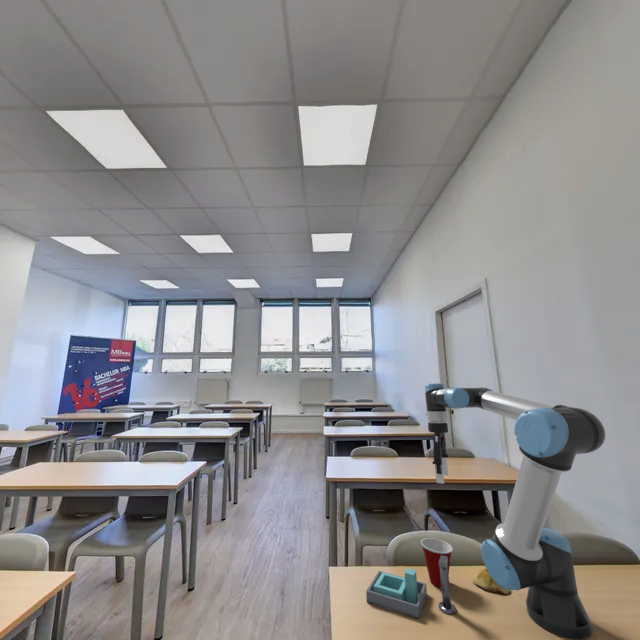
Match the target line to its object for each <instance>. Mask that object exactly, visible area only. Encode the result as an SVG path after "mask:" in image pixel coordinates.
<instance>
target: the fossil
mask: <svg viewBox="0 0 640 640" xmlns="http://www.w3.org/2000/svg"><path fill="white" fill-rule="evenodd" d="M471 581H472V583H473V584H475V585H476V586H478V587H480V588H482V589H484V590H486V591H488V592H493V593H494V592H495V593H501V594H504V595H510V592H511V590H510V591H509V590H506V589H503V588H502V587H500V586H499V585H498V584H497V583H496V582H495V581H494V580H493V578H492V577H491V576H490V574H489V572H488V571H487V569H486V568H483V569H481V570H480V571H479V572H477V573H476V574H473V576H472V579H471Z"/></svg>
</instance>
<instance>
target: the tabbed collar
mask: <svg viewBox="0 0 640 640" xmlns="http://www.w3.org/2000/svg"><path fill="white" fill-rule="evenodd" d="M384 572H385V571H382V573H381V575H380V576H379V578H378V580H377V581H376V583H375V585H374V592H376V593H380V594H383V595H386V596H389V597H393V598H396V599H399V600H403V601H406V602H409V603H413V604H417V601H418V591H417V581H418V578H417V570H415V569H412V568H406V569H405V571H404V576H400V577H399V575H397V576H395V575H396V574H393V575H391V574H392V573H389V574H388V572H385V573H384ZM403 577H404V578H403Z"/></svg>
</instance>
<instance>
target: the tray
mask: <svg viewBox="0 0 640 640" xmlns="http://www.w3.org/2000/svg"><path fill="white" fill-rule="evenodd" d="M382 572H384V573H386V572H385V571H383V570H382V571H381V570H378V572H377V573H376V575H375V576H374V578H373V580H372V581H371V583H370V585H369V586H368V587H367V589H366V590H365V591H366V592H365V593H366V603H369V604H372V605H374V606H377V607H381V608H384V609H388V610H390V611H393V612H397V613H399V614H403V615H405V616H409V617H412V618H414V619H418V620H420V617H421V614H422V611H423V608H424V605H425V601H426V599H427V594H428V591H427V583H426V582H422V581H419V580H417V591H418V601H417V604H413V603H409V602H406V601H403V600H399V599H396V598H393V597H389V596H386V595H383V594H380V593H376V592H374V585H375V583H376V581H377V580H378V578H379V576H380V575H381V573H382ZM387 573H388V572H387ZM388 574H391V575H395V576H399V575H396V574H392V573H388ZM399 577H401V576H399ZM402 577H403V578H405V576H402Z"/></svg>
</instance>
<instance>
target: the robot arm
mask: <svg viewBox="0 0 640 640" xmlns="http://www.w3.org/2000/svg"><path fill="white" fill-rule="evenodd" d="M424 388H425V389H424V395H425V396H424V397H425V406H426V413H425V416H427V421H428V423H427V429H428V430H427V431H428V432H429V433H434V436H433V435H432V440H433V461H432V465H434V470H435V481H436V482H435V483H437V484H445V476H449V468H448V458H449V454H448V452H447V447H446V439H445V434H446V433H448V432H449V426H448V425H449V424H448V422H447V421H448V416H447V415H448V414H447V413H448V412H447V408H450V409H451V408H452V409H465V408H466V409H467V408H477V409H478V408H479V409H482V410H485V411H488V412H492V413H494V414H498V415H500V416H504V417H506V418H509V419H511V420H515V423H514V427H513V429H514V436H515V437H516V438H515V440H516V442H517V444H518V450H519V452H520V453H521V455H522V459H521V463H520V467H519V470H518V474H517V477H516V481H515V483H514V488H513V491H512V495H511V498H510V501H509V505H508V509H507V512H506V515H505V518H504V522H502V523H501V522H500V523H499V524H497V526H496V527H495V531H494V534H493V537H492V539H485V540H484V541H483V542H482V543H481V546H480V552H481V559H482V561H483V563H484V566H485V569H487V571H488V572H489V574H490V576H491V577H492V578H493V580H494V581H495V582H496V583H497V584H498V585H499V586H500V587H502V588H503V589H506V590H509V591H510V592H511V591H520V590H522V589H527V593H526V599H525V605H526V611H527V614H528V616H529V618H531V620H532V621H533V622H535V623H536V625H538V626H540V627H542V629H544V630H546V631H548V632H551V633H552V634H554V635H557V636H561V637H563V638H568V639H573V640H584V639H588V638H590V637H591V635H592V634H593V629H592V628H593V627H592V623H591V620H590V617H589V615H588V613H587V611H586V608H585V606H584V604H583V602H582V600H581V598H580V596H579V591H578V586H577V580H576V574H575V567H574V561H573V556H572V554H573V552H572V550H571V546H570V542H569V540H568V538H566V536H564V535H563V534H562V533H560V532H558V531H555V530H554V529H550V528H548V527H545V525H546V522H547V518H548V515H549V512H550V509H551V506H552V503H553V499H554V497H555V494H556V491H557V487H558V485H559V481H560V478H561V475H562V473H566V472H569V471H571V469H572V467H573V464H574V461H575V458H576V455H580V454H590V453H592V452H595V451H597V450H598V449H600V448H601V447H602V446H603V444H604V443H605V440H606V430H605V426H604V425H603V423H602V422H601V421H600V419H599V418H598V417H597V416H596V415H595V414H593V413H592V412H590V411H589V410H586V409H583V408H578V407H572V406H567V405H562V404H555V405H553V406H552V405H549V404H545V403H542V402H541V403H540V402H537V401H532V400H529V399H525V398H522V397H521V398H520V397H517V396H512V395H509V394H505V393H500V392H497V391H494V390H492V389H491V388H488V387H444V384H443V383H426V384H425V387H424Z"/></svg>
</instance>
